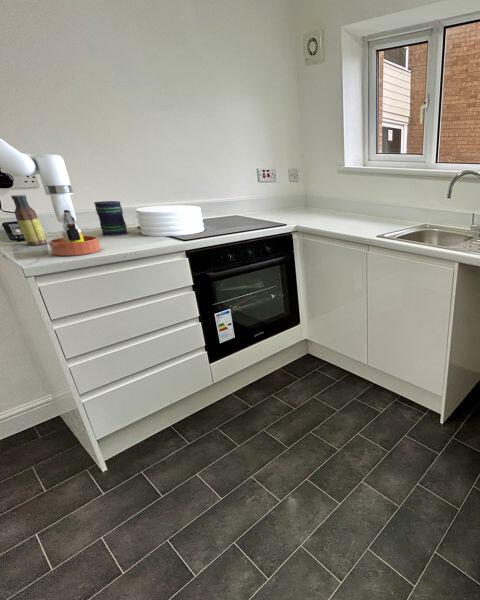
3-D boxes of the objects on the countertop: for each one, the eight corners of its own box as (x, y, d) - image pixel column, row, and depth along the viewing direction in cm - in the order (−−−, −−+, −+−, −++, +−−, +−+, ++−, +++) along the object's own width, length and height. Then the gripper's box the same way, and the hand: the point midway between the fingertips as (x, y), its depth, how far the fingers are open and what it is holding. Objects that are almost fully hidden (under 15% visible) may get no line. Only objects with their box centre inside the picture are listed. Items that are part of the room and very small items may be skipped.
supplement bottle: (90, 249, 139) (83, 224, 136) (77, 253, 134) (69, 226, 130) (77, 249, 140) (69, 223, 136) (64, 252, 135) (55, 225, 131)
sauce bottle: (44, 241, 151) (28, 194, 143) (50, 243, 148) (33, 195, 140) (23, 244, 145) (5, 194, 138) (29, 246, 142) (10, 196, 135)
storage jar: (98, 234, 169) (89, 202, 163) (120, 231, 177) (112, 200, 171) (110, 236, 165) (101, 203, 159) (132, 233, 173) (124, 202, 168)
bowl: (55, 258, 128) (50, 245, 126) (51, 251, 137) (46, 238, 135) (104, 252, 138) (100, 240, 136) (97, 246, 146) (94, 234, 145)
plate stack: (131, 230, 178) (126, 207, 174) (188, 224, 200) (184, 204, 196) (155, 238, 164) (150, 213, 159) (214, 231, 185) (211, 209, 181)
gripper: (42, 189, 132) (58, 236, 138) (47, 192, 121) (63, 243, 127) (69, 188, 137) (82, 234, 143) (75, 191, 126) (90, 241, 132)
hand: (73, 238), depth 135 cm, fingers open, 6 cm apart
